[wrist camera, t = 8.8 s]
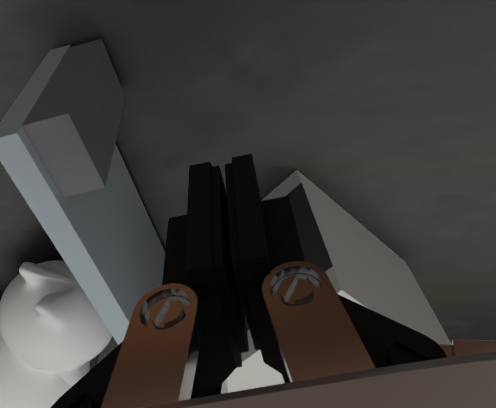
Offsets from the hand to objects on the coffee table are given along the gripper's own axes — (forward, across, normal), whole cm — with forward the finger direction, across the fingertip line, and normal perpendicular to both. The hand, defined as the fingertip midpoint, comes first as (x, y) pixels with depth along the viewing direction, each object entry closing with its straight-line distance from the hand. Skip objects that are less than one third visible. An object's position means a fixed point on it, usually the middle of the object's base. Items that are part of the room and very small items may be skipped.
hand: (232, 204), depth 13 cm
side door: (+13, +6, +6) cm, 15 cm away
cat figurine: (+13, +14, +15) cm, 25 cm away
